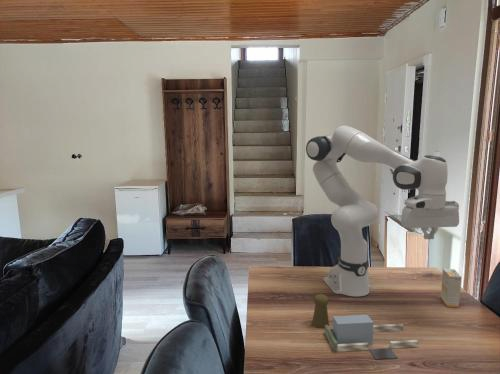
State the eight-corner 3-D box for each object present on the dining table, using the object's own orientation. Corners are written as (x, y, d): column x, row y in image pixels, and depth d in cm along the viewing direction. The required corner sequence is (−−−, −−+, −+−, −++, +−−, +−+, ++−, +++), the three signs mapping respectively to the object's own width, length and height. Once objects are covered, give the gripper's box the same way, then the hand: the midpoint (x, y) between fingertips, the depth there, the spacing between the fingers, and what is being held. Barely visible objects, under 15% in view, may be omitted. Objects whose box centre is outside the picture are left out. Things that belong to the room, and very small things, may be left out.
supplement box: (459, 308, 144) (462, 276, 142) (446, 306, 145) (449, 275, 143) (452, 298, 152) (455, 268, 150) (440, 297, 153) (442, 268, 150)
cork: (310, 320, 135) (311, 292, 134) (326, 319, 136) (327, 291, 134) (314, 328, 129) (315, 300, 128) (331, 327, 130) (332, 299, 128)
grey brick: (366, 336, 125) (367, 314, 123) (372, 344, 120) (373, 322, 119) (332, 338, 124) (333, 316, 122) (337, 346, 119) (337, 324, 118)
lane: (394, 321, 134) (395, 314, 133) (426, 356, 113) (427, 347, 113) (320, 325, 132) (320, 317, 131) (339, 361, 111) (339, 352, 110)
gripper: (453, 199, 133) (450, 235, 135) (399, 200, 131) (397, 237, 133) (465, 202, 126) (461, 240, 129) (408, 203, 125) (406, 242, 127)
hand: (428, 238), depth 131 cm, fingers closed
